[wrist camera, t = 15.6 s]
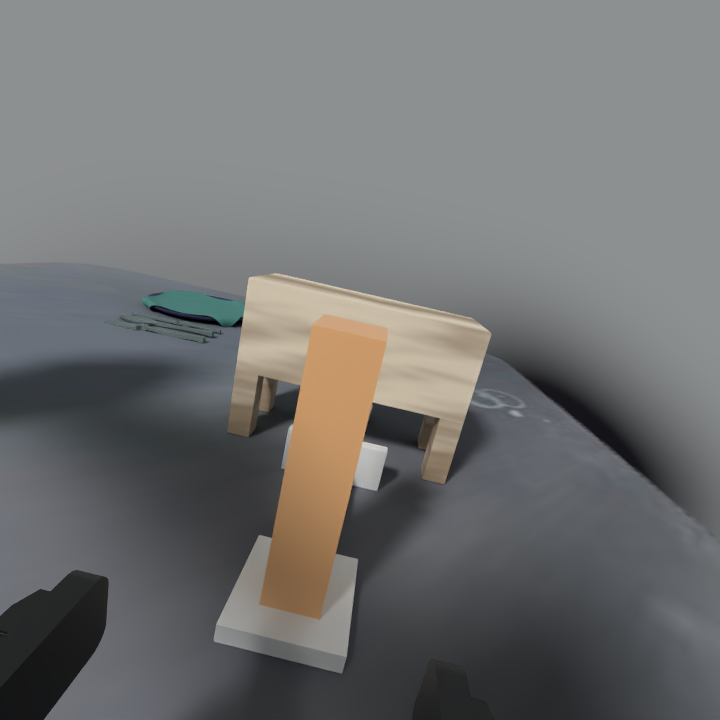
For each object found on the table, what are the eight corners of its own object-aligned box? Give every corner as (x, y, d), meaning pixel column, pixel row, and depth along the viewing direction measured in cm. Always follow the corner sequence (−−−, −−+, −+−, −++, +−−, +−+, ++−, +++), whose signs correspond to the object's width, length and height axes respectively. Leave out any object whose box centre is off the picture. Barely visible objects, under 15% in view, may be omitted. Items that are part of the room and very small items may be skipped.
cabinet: (444, 484, 36) (491, 333, 32) (226, 432, 36) (248, 277, 33) (434, 437, 45) (469, 316, 41) (260, 396, 46) (280, 272, 42)
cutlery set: (266, 316, 88) (267, 305, 87) (214, 351, 59) (215, 336, 59) (175, 297, 87) (176, 286, 87) (78, 323, 59) (78, 307, 58)
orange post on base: (363, 679, 18) (455, 366, 14) (192, 636, 18) (235, 315, 14) (377, 484, 34) (423, 308, 30) (284, 462, 34) (317, 284, 30)
